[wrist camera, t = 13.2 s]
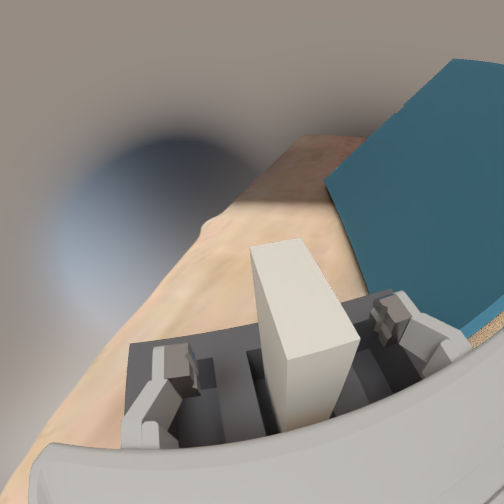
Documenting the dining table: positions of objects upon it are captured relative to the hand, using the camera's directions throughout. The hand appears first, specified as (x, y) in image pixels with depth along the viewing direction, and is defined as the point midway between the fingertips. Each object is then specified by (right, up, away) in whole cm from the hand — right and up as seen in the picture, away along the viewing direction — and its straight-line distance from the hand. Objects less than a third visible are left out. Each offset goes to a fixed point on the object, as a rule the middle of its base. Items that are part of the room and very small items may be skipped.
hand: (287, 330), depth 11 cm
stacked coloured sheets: (+23, +4, +19) cm, 30 cm away
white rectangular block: (+1, -7, +4) cm, 9 cm away
